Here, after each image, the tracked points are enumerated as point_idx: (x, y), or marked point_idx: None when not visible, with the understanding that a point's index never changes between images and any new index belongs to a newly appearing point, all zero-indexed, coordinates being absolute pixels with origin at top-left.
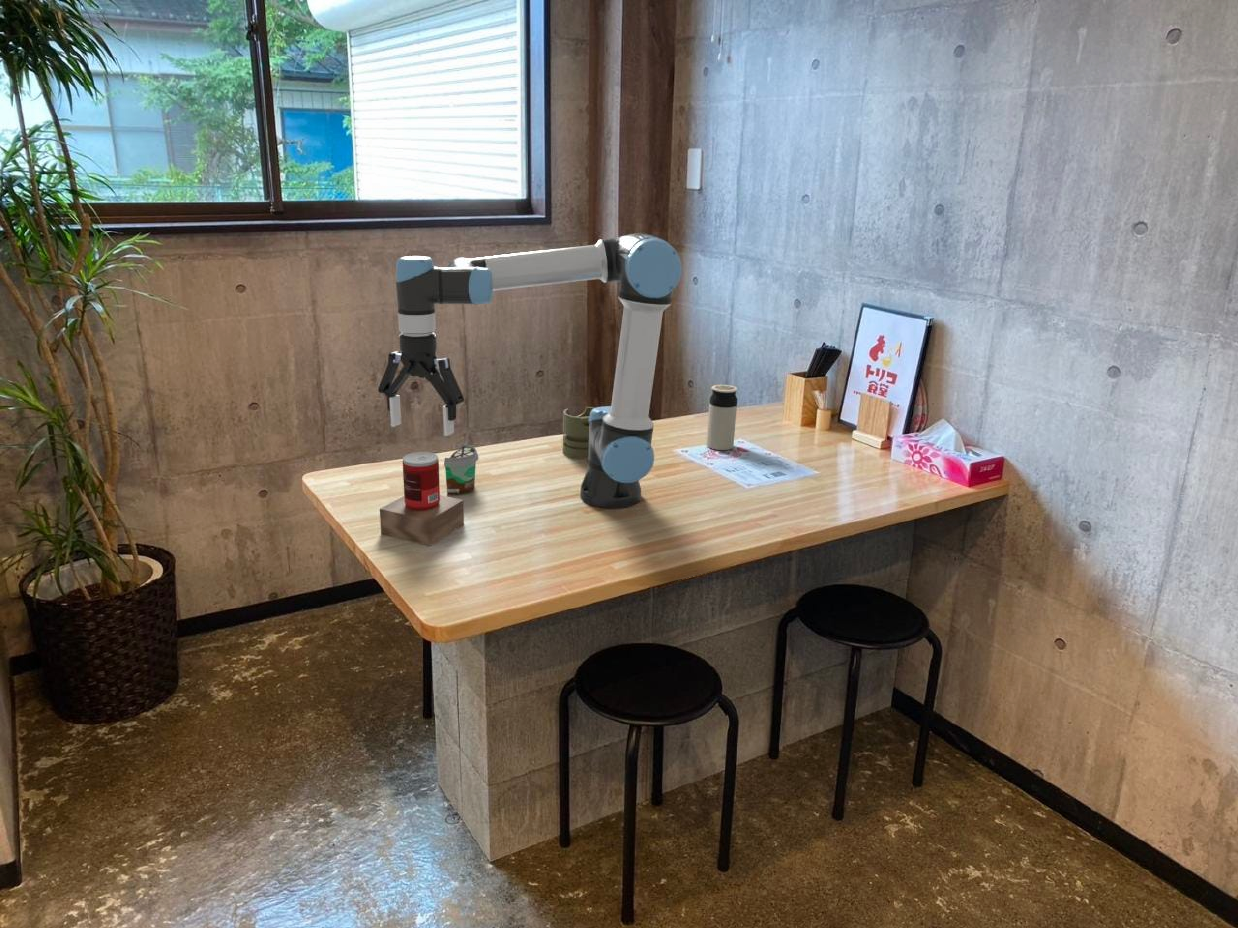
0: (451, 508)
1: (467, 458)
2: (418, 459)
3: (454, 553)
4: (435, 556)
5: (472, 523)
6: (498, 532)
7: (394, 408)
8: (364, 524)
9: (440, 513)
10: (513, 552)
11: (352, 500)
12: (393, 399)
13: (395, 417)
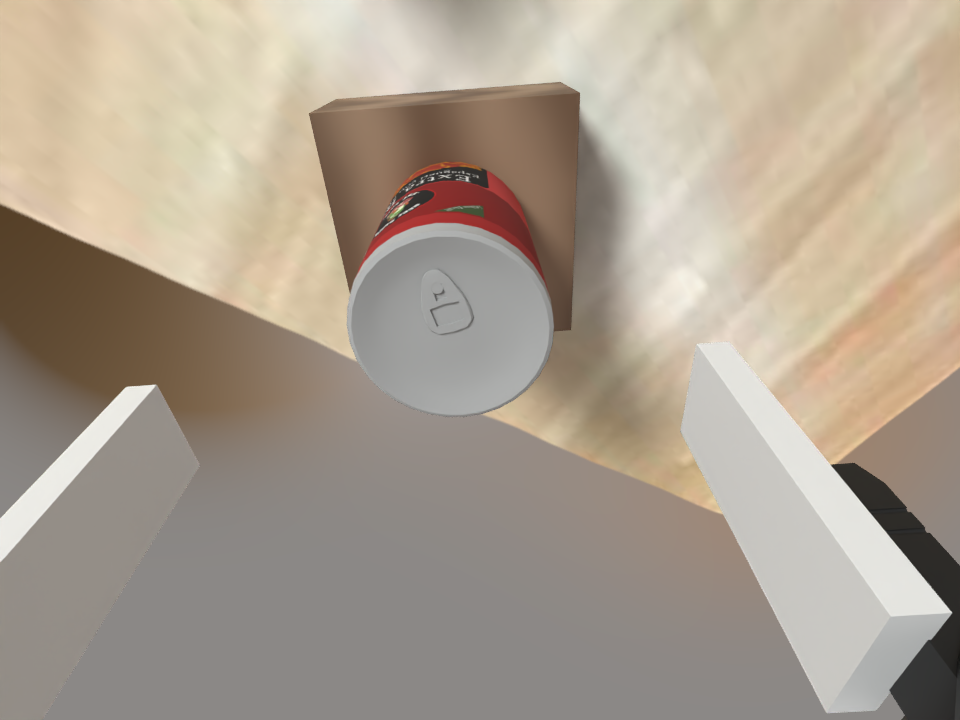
0: (575, 193)
1: None
2: (445, 340)
3: (647, 290)
4: (606, 329)
5: (584, 51)
6: (719, 70)
7: (97, 595)
8: (277, 275)
9: (572, 266)
10: (823, 190)
11: (36, 134)
12: (21, 717)
13: (148, 503)
